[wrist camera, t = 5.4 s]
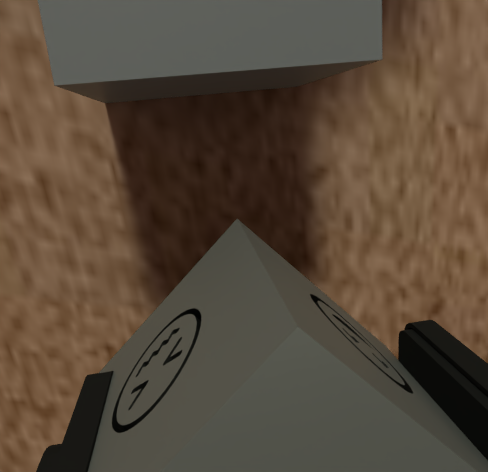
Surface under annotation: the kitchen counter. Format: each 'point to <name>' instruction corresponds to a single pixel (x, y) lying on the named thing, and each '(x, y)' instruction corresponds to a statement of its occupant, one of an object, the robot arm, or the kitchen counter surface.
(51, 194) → the kitchen counter surface
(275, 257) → the dice cube
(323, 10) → the light gray cube
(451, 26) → the kitchen counter surface
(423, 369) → the robot arm
